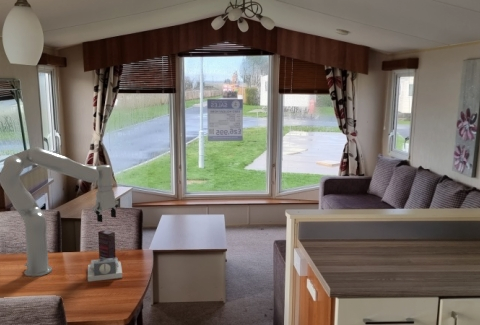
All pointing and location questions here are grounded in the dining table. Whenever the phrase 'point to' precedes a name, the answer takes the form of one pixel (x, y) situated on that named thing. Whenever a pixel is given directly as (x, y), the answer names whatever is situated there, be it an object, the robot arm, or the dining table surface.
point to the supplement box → (106, 244)
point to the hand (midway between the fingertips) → (106, 219)
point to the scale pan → (103, 261)
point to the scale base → (104, 271)
